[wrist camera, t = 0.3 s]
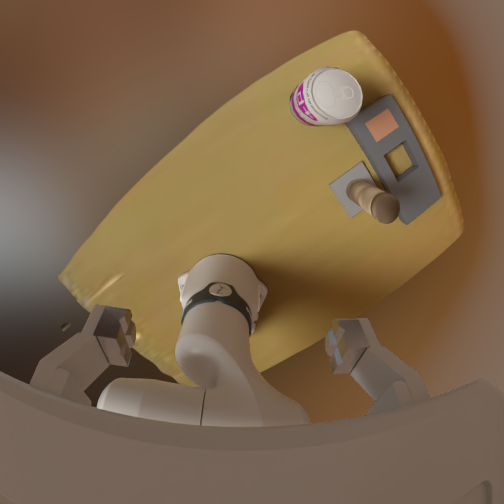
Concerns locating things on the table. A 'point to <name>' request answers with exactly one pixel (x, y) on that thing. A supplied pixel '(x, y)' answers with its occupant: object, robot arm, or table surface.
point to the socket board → (384, 140)
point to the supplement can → (326, 98)
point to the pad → (341, 185)
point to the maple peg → (374, 201)
